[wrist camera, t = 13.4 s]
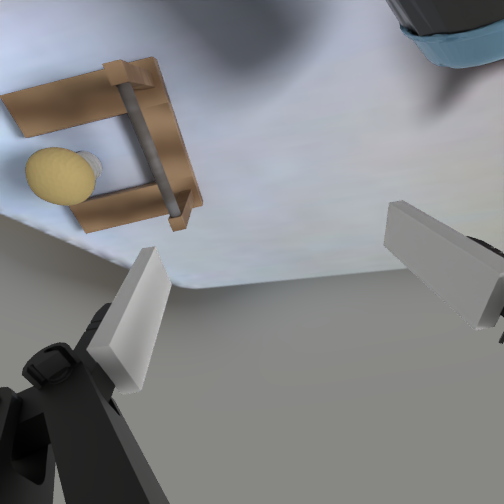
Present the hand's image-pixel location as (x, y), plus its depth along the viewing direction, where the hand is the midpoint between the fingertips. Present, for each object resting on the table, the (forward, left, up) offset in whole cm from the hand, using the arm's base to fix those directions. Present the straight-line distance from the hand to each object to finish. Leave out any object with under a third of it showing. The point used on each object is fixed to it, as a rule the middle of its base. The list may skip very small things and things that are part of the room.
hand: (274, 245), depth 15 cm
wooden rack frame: (-4, -17, -26) cm, 31 cm away
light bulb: (-4, -21, -26) cm, 34 cm away
